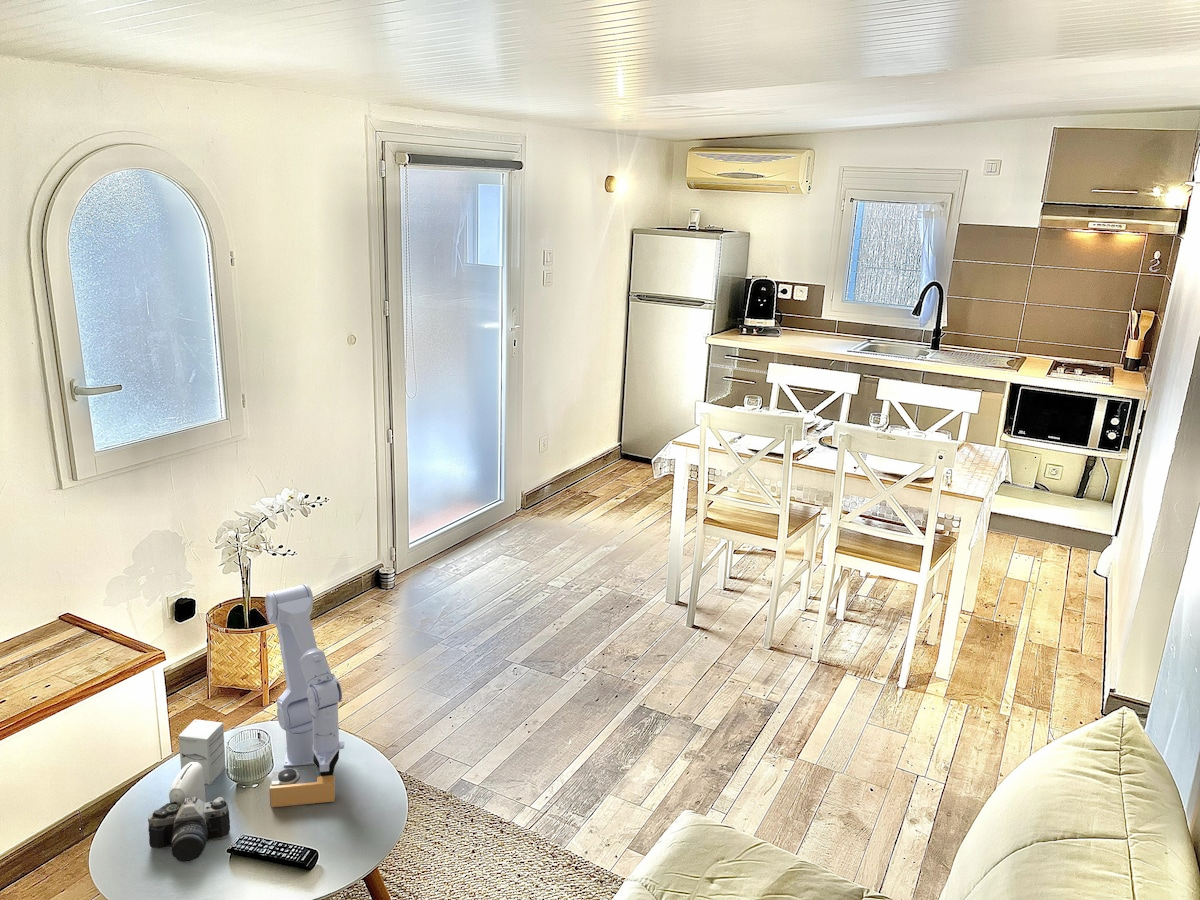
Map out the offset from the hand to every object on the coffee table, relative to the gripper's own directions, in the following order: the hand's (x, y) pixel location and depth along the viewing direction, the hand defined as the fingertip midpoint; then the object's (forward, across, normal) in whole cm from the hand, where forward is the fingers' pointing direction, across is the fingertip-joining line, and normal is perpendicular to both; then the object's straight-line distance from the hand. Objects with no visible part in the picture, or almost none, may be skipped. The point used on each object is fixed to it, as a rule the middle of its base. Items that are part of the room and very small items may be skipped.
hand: (327, 779), depth 206 cm
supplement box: (+3, +10, +29) cm, 31 cm away
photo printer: (+3, -6, +29) cm, 30 cm away
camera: (+3, -15, +27) cm, 31 cm away
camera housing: (+3, -1, +7) cm, 8 cm away
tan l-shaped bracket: (+2, -4, +5) cm, 7 cm away
